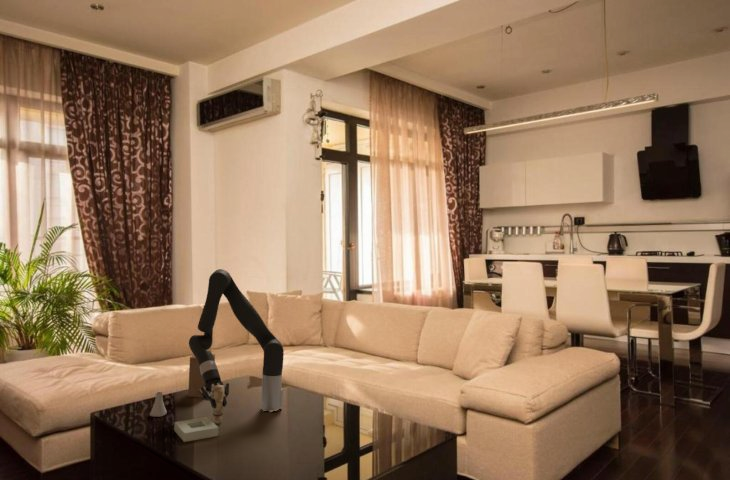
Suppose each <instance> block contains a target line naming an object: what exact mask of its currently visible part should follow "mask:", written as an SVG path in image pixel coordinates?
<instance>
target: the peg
mask: <svg viewBox="0 0 730 480" xmlns="http://www.w3.org/2000/svg"><path fill="white" fill-rule="evenodd" d="M223 392H225V389H224V386H223V385H216V386H214V399H215V402H216V405H217V407H216V408H215V409H214V408H213V409H212V416H213V421H212V422H213V423H214V424H215V425H217V424H219V425H220V424H221V423H222V418H223V417H222V416H223V414H224V412H223V411H224V409H223V408H224V407H223Z"/></svg>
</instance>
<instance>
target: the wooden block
mask: <svg viewBox="0 0 730 480" xmlns="http://www.w3.org/2000/svg"><path fill="white" fill-rule="evenodd" d="M212 355H213V358H214V361H216V354H215V353H212ZM188 372H189V373H188V394H187V396H188V397H189V398H201V399H202V398H203V396H202V395H201V393H200V392H199V390H200V389H201V387H204V386H205V385H204V382H203V379H202V375H201V372H200V367H199V363H198V360H197V358H196V357H195V355H194V354H193V355H192V356H190V357H189V369H188ZM206 392H207V394H208V395H209V392H208V391H207V390H206ZM203 399H204V398H203Z"/></svg>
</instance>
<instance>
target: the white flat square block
mask: <svg viewBox="0 0 730 480" xmlns="http://www.w3.org/2000/svg"><path fill="white" fill-rule="evenodd" d="M173 428H174V429H173V430H174V432H175V433H176V434H177V436H178V437H179V438H180V440H182V441H183V443H186V442H191V441H196V440H197V441H198V440H203V439H208V438H213V437H219V429H220V427H219V426H218V425H217V424H215V423H213V421H212V420H211V419H210V418H209V417H208V416H205V417H198V418H192V419H185V420H180V421H174V427H173Z"/></svg>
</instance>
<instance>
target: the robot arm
mask: <svg viewBox="0 0 730 480" xmlns="http://www.w3.org/2000/svg"><path fill="white" fill-rule="evenodd" d="M223 295H224V297H225V298H226V300H227V301H228V303H229V304H228V305H229V306H230V309H231V310H232V312H233V315H234V316H235V318H236V319H237V320H238V322H239V323H240V324H241V326H242V327H243V328H245V330H246V331H247V332H248V333H249V334H251V335H252V336H253V337H254V338H255V340H256V341H257V342H258V344H259V345H260V347H261V349H262V351H263V362H262V363H263V364H262V376H261V377H262V378H261V381H262V382H261V399H260V400H261V401H260V410H261V409H262V410H266V411H270V410H275V409H278V408H280V407H282V408H283V397H284V396H283V395H284V390H283V389H282V385H283V383H282V378H283V369H284V368H283V366H284V355H285V354H284V352H285V351H284V347H283V344H282V342H281V341H280V340H279V339H278V338H277V337H276V336H275V335H274V334H273V333H272V332H271V330H270V329H268V327H267V325H266V324H265V322H264V320H263V318H262V317H261V315H260V314H259V312H258V311H257V310H256V308H255V306H253V305H252V303H251V302H250V301H249V299H247V297H246V296H245V294H243V293H242V291H241V290H240V289H239V287H238V285H237V284H236V283H235V281H234V279H233V277H232V276H231V274H230V273H229V272H228V270H225V269H222V268H220V269H219V268H218V269H217V270H215V271H213V273H211V275H210V276H209V279H208V285H207V294H206V299H205V301H204V305H203V308H202V312H201V314H200V317H199V321H198V324H197V329H198V331H200V332H201V333H203V334H195V335H194V334H193V335H191V337H190V338H189V340H188V345H189V350H191V352H192V354H193V355H195V357H196V358H197V360H198V363H199V367H200V372H201V375H202V379H203V382H204V385H205V386H204V387H201V389H200V390H199V392H200V393H201V395H202V396H203V399H204V401H206V402H207V401H209V403H210V405H211V408H214V409H215V408H216V407H217V405H216V402H215V399H214V386H216V385H223V386H224V391H223V408H225V407H226V406H227V404H228V401H227V398H228V396H229V394H230V383H228V382H226V383H223V382H222V380H221V375H220V371H219V369H218V366H217V364H216V362H215V361H216V360H215V361H214V358H213V355H212V354H213V353H212V352H211V351H210V350H209V349H210V348H211V347H212V345H213V334H214V333H213V331H214V326H215V323H216V319H217V315H218V311H219V306H220V302H221V298H222V296H223ZM206 390H207V391H208V392H209V395H208V394H207V392H206ZM262 410H261V411H262Z"/></svg>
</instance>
